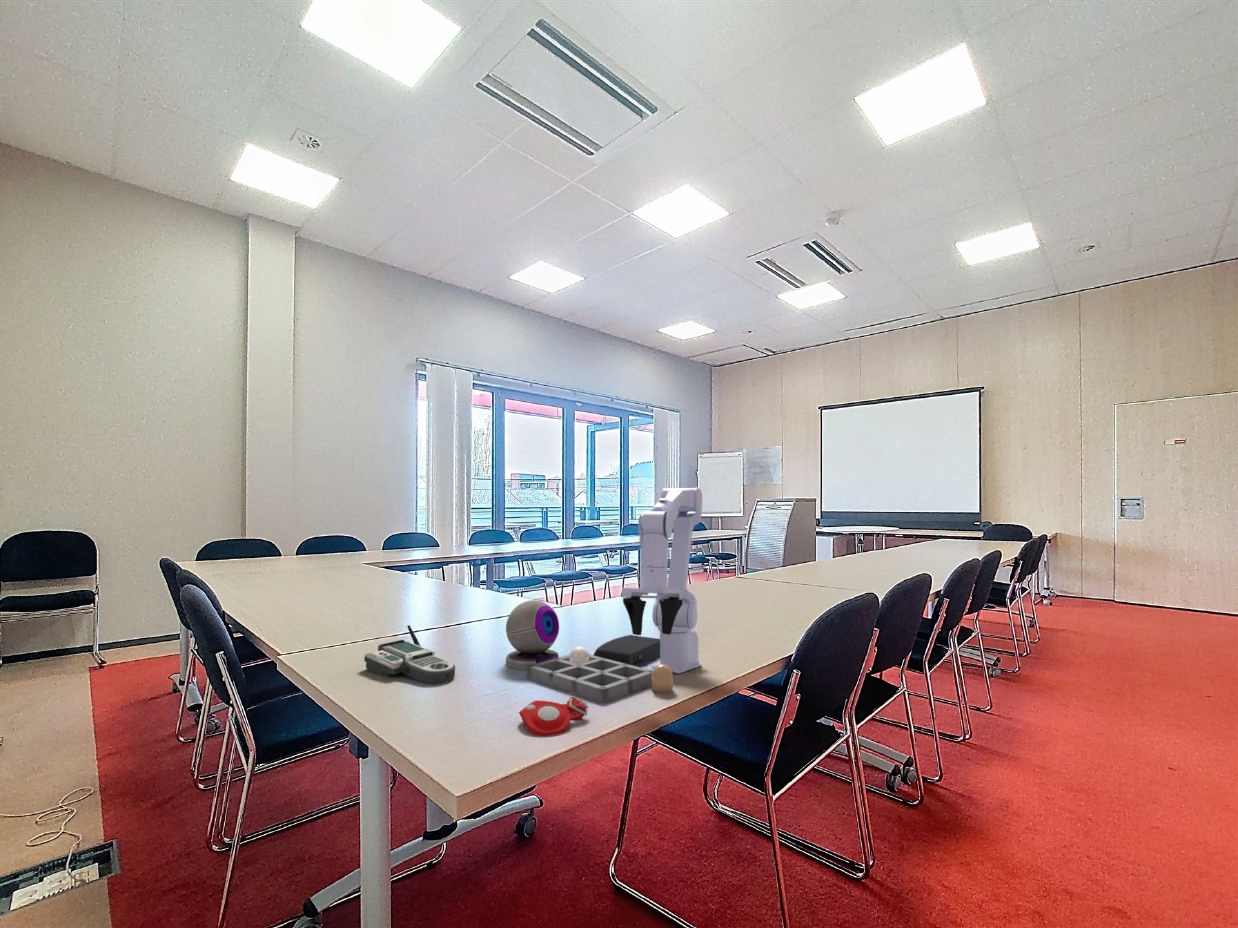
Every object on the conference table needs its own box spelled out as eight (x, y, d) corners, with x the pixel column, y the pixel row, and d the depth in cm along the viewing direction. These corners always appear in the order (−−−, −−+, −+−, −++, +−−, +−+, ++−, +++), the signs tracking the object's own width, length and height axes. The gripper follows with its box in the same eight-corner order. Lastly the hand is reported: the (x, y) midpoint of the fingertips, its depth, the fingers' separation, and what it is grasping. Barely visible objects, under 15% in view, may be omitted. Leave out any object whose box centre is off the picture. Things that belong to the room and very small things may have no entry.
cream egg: (579, 666, 139) (579, 643, 139) (592, 669, 136) (592, 646, 136) (565, 670, 136) (566, 646, 136) (578, 674, 133) (578, 650, 133)
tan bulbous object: (660, 685, 124) (660, 660, 125) (677, 690, 121) (676, 664, 122) (647, 690, 121) (647, 664, 121) (664, 695, 118) (663, 668, 118)
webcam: (536, 672, 134) (536, 607, 135) (494, 664, 140) (495, 602, 141) (568, 659, 145) (568, 598, 146) (528, 652, 151) (528, 594, 152)
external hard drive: (587, 664, 142) (587, 647, 142) (627, 647, 159) (627, 631, 159) (634, 672, 135) (633, 654, 136) (670, 653, 152) (670, 637, 152)
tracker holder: (553, 735, 96) (508, 710, 101) (552, 757, 97) (507, 731, 102) (594, 697, 106) (551, 676, 111) (592, 718, 107) (550, 696, 112)
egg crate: (526, 677, 130) (526, 665, 130) (579, 662, 142) (580, 651, 142) (602, 702, 114) (602, 689, 114) (655, 683, 126) (655, 671, 126)
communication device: (420, 692, 121) (421, 650, 122) (361, 671, 136) (362, 633, 136) (467, 678, 131) (467, 639, 131) (407, 659, 145) (407, 624, 146)
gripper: (636, 566, 115) (634, 637, 113) (692, 569, 123) (691, 635, 120) (617, 565, 121) (614, 633, 118) (672, 569, 129) (670, 632, 126)
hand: (651, 634), depth 120 cm, fingers open, 7 cm apart
